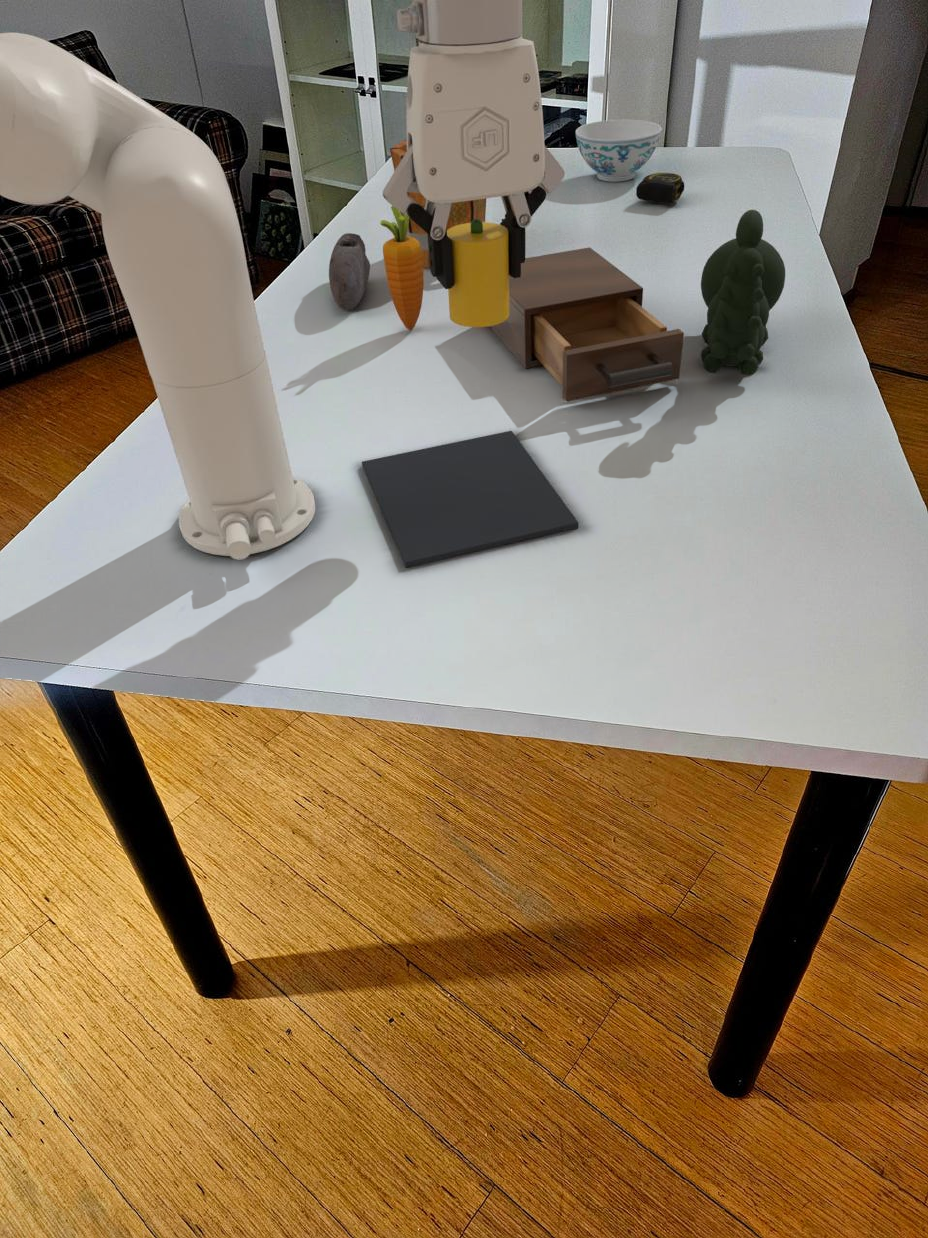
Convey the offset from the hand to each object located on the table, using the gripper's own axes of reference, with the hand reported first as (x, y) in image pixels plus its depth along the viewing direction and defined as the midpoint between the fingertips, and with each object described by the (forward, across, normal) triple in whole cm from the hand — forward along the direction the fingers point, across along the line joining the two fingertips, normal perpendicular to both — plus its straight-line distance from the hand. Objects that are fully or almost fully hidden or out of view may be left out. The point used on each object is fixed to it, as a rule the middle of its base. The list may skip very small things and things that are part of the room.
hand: (478, 275), depth 75 cm
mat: (+19, -3, -3) cm, 20 cm away
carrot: (+19, +2, +37) cm, 41 cm away
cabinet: (+19, +19, +27) cm, 38 cm away
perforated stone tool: (+19, -2, +51) cm, 54 cm away
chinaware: (+18, +55, +87) cm, 105 cm away
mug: (+19, +18, +61) cm, 67 cm away
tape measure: (+18, +55, +69) cm, 90 cm away
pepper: (+3, 0, 0) cm, 3 cm away
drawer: (+18, +19, +14) cm, 29 cm away
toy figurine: (+19, +36, +14) cm, 42 cm away
